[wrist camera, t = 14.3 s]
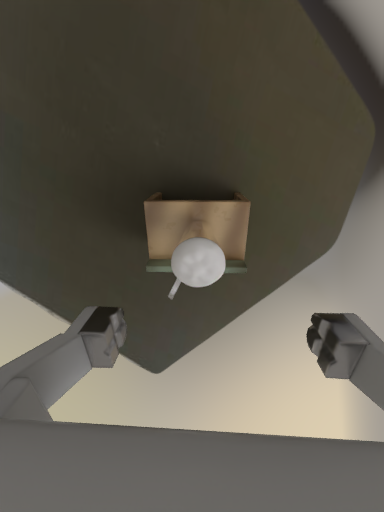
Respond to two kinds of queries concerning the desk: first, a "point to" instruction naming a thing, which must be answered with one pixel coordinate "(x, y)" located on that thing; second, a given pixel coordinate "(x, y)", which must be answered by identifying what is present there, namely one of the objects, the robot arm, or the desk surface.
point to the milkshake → (197, 257)
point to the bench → (185, 211)
